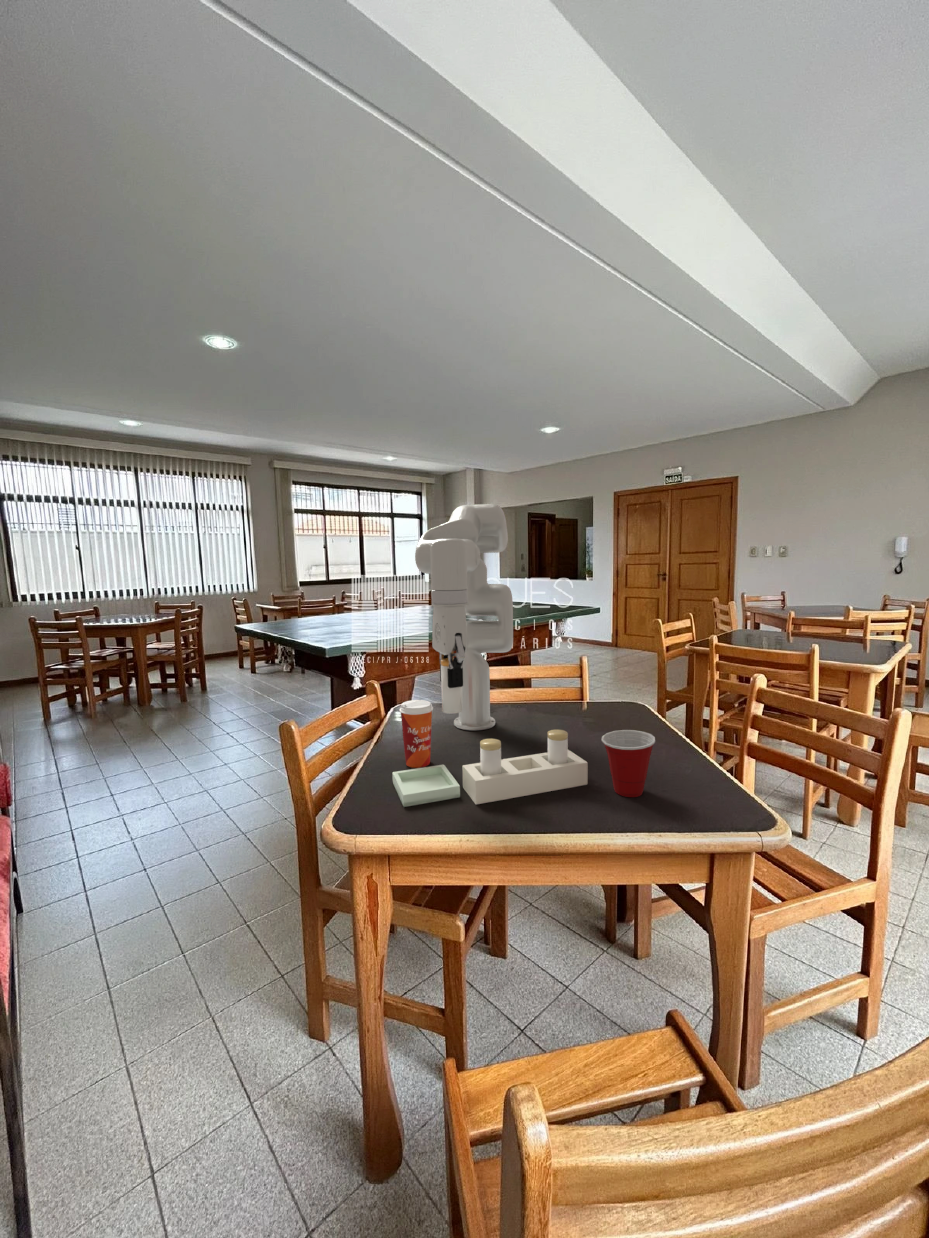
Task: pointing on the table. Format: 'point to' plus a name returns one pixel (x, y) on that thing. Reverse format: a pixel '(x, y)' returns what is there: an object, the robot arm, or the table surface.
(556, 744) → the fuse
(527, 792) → the holder
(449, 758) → the table surface
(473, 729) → the robot arm
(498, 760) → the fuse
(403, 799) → the tray
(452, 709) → the white and orange cylinder
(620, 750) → the plastic cup
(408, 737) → the coffee cup
